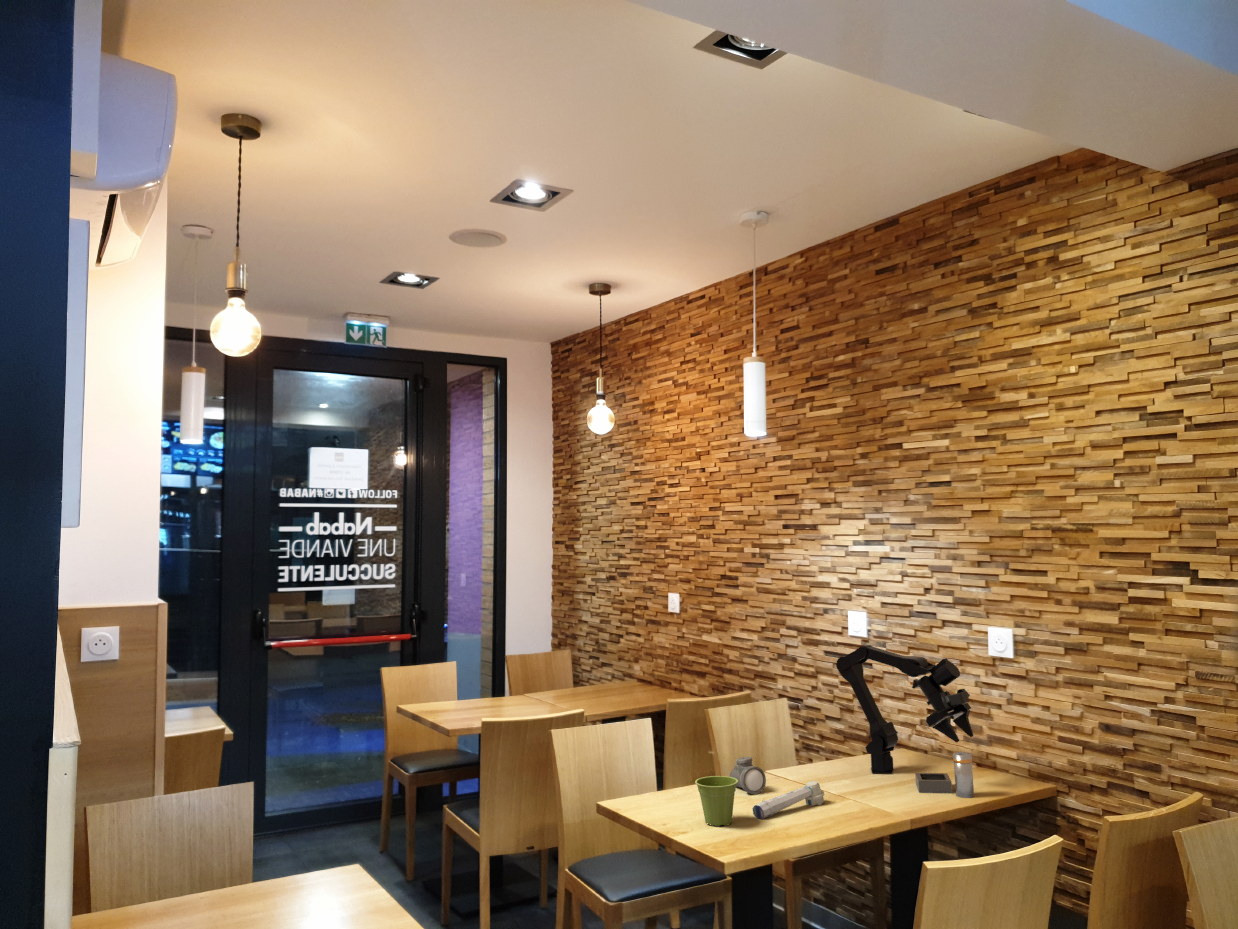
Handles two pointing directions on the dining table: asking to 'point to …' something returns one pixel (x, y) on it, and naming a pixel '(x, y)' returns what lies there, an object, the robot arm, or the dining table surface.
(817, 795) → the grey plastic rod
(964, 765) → the tube
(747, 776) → the pipe fitting
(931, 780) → the collar
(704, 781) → the plant pot
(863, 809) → the dining table surface
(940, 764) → the dining table surface
